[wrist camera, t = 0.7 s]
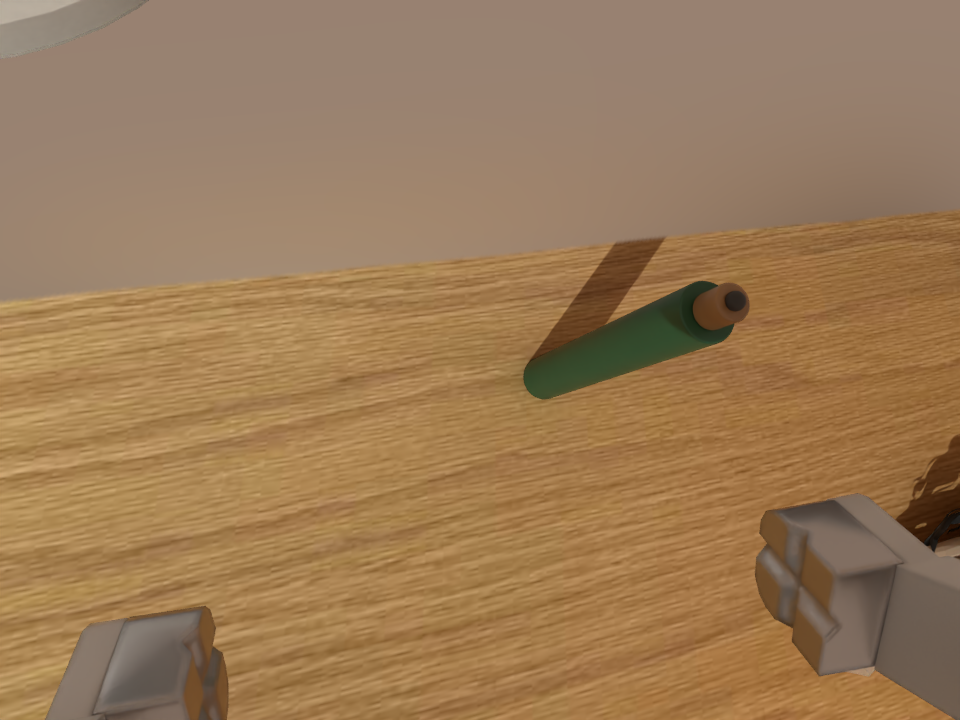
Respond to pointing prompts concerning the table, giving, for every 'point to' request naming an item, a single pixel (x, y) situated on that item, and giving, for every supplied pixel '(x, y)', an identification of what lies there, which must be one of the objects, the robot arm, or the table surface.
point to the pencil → (640, 339)
